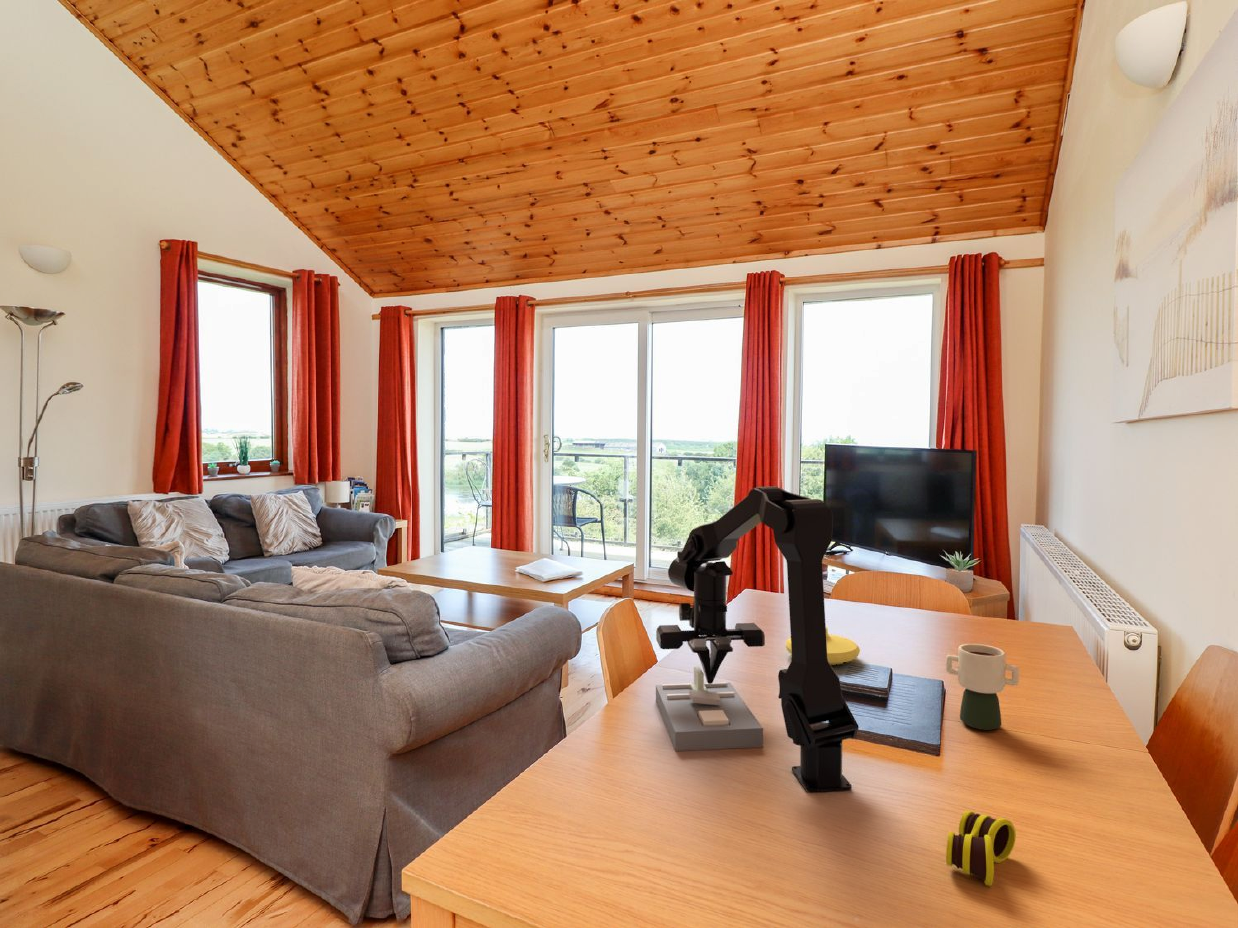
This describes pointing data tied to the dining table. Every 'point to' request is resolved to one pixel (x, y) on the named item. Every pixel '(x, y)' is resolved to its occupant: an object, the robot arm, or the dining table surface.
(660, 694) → the console
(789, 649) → the yellow flattened dome
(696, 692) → the pale grey slab
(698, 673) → the slide paddle
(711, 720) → the push button
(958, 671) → the character mug
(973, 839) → the opera glasses
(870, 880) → the dining table surface
